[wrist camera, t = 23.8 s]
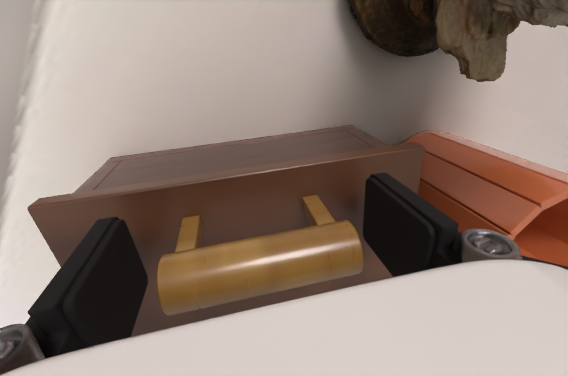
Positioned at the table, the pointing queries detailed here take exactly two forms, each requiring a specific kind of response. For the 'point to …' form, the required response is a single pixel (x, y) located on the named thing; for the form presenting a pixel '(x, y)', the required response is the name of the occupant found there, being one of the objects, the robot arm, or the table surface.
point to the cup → (496, 193)
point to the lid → (239, 232)
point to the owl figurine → (455, 28)
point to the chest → (227, 156)
